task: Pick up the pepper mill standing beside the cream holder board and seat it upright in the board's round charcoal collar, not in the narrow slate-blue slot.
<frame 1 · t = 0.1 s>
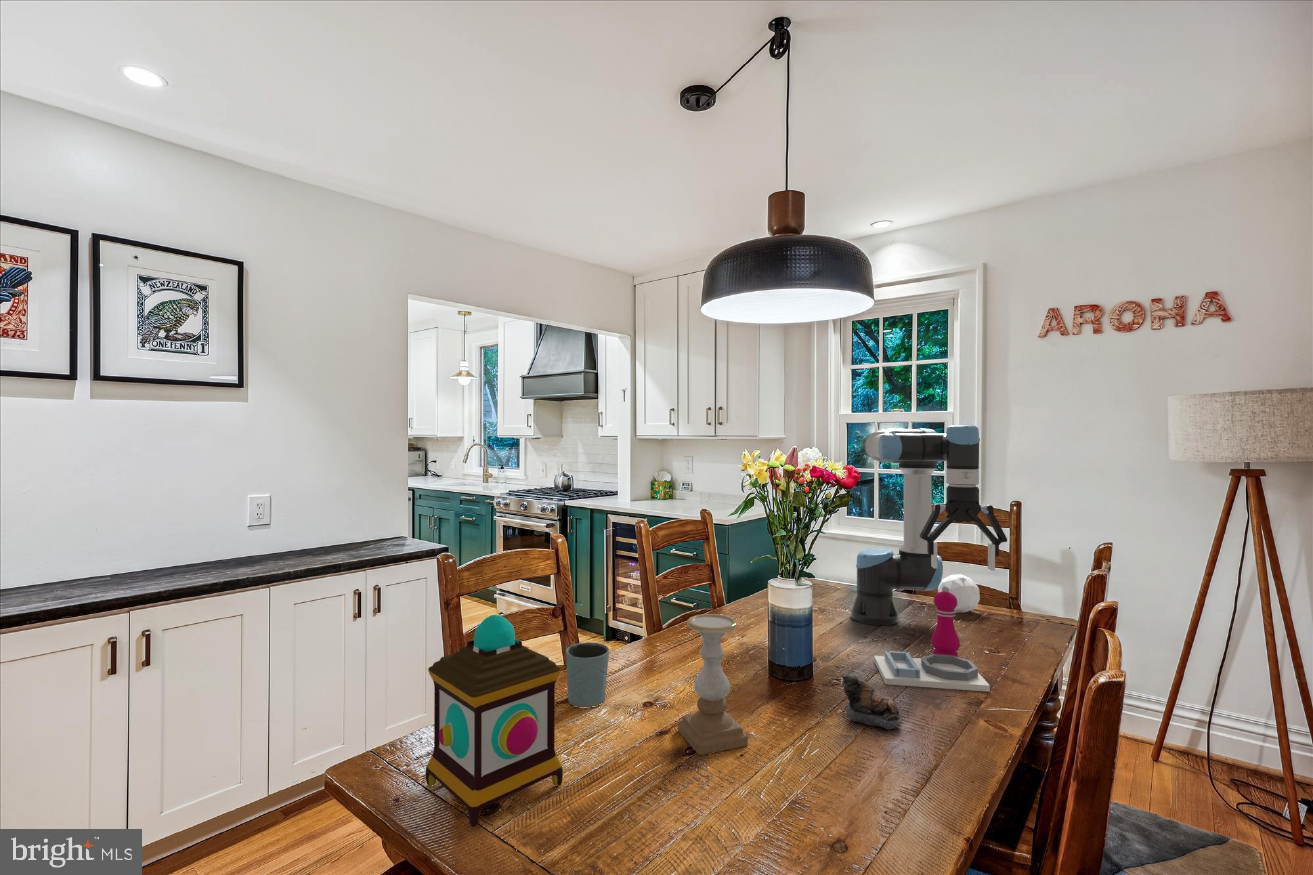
hand: (962, 568, 154), 28 cm above the table, tool pointing down, fingers open, 13 cm apart
geodesic sphere: (958, 612, 213), on the table
blue grey cup: (587, 701, 139), on the table
decorative lantern: (494, 787, 105), on the table
pepper mill: (945, 658, 167), on the table
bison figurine: (871, 726, 128), on the table
candle holder: (711, 739, 122), on the table
holder board: (928, 675, 155), on the table
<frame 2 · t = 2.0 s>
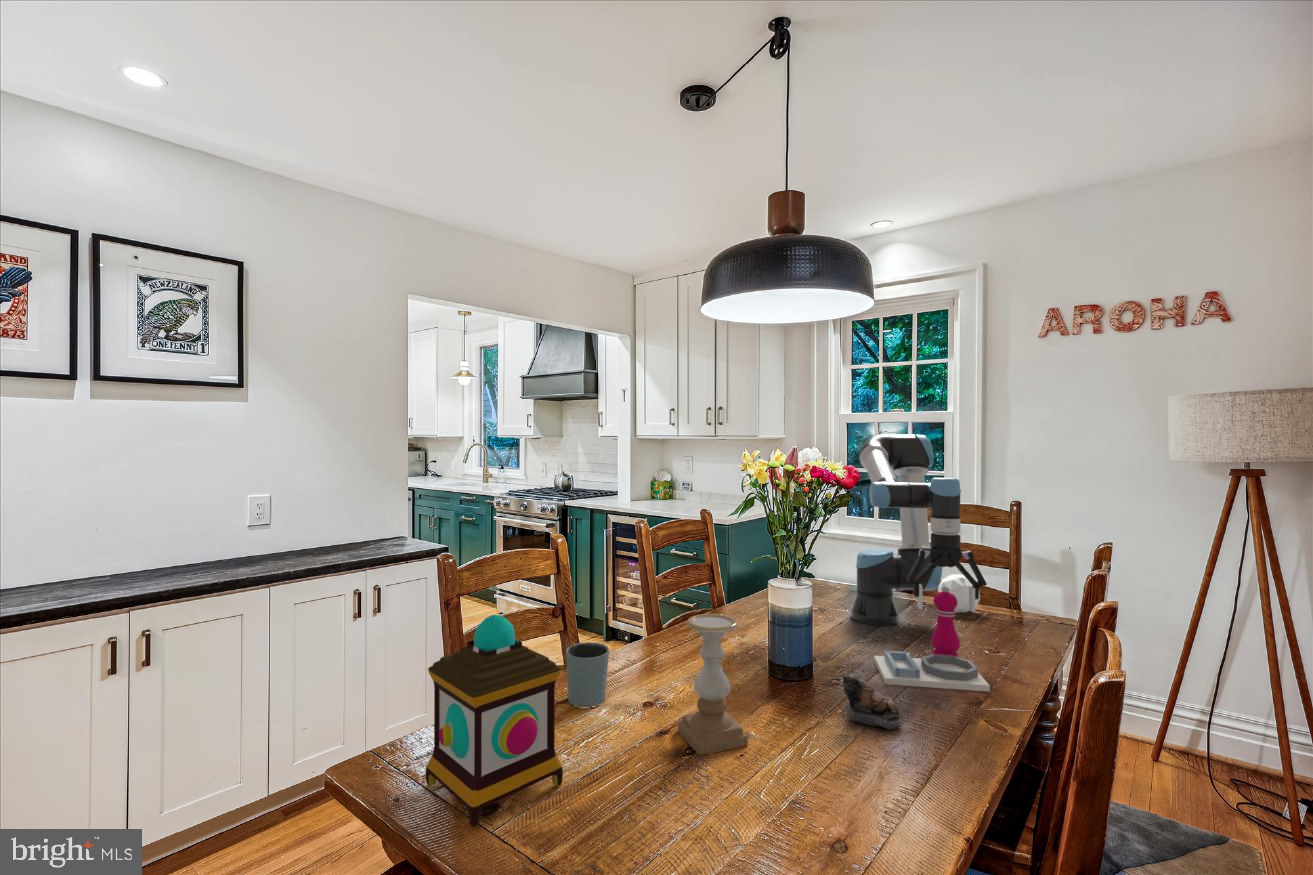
hand: (945, 609, 167), 14 cm above the table, tool pointing down, fingers open, 13 cm apart
nothing on the table moved.
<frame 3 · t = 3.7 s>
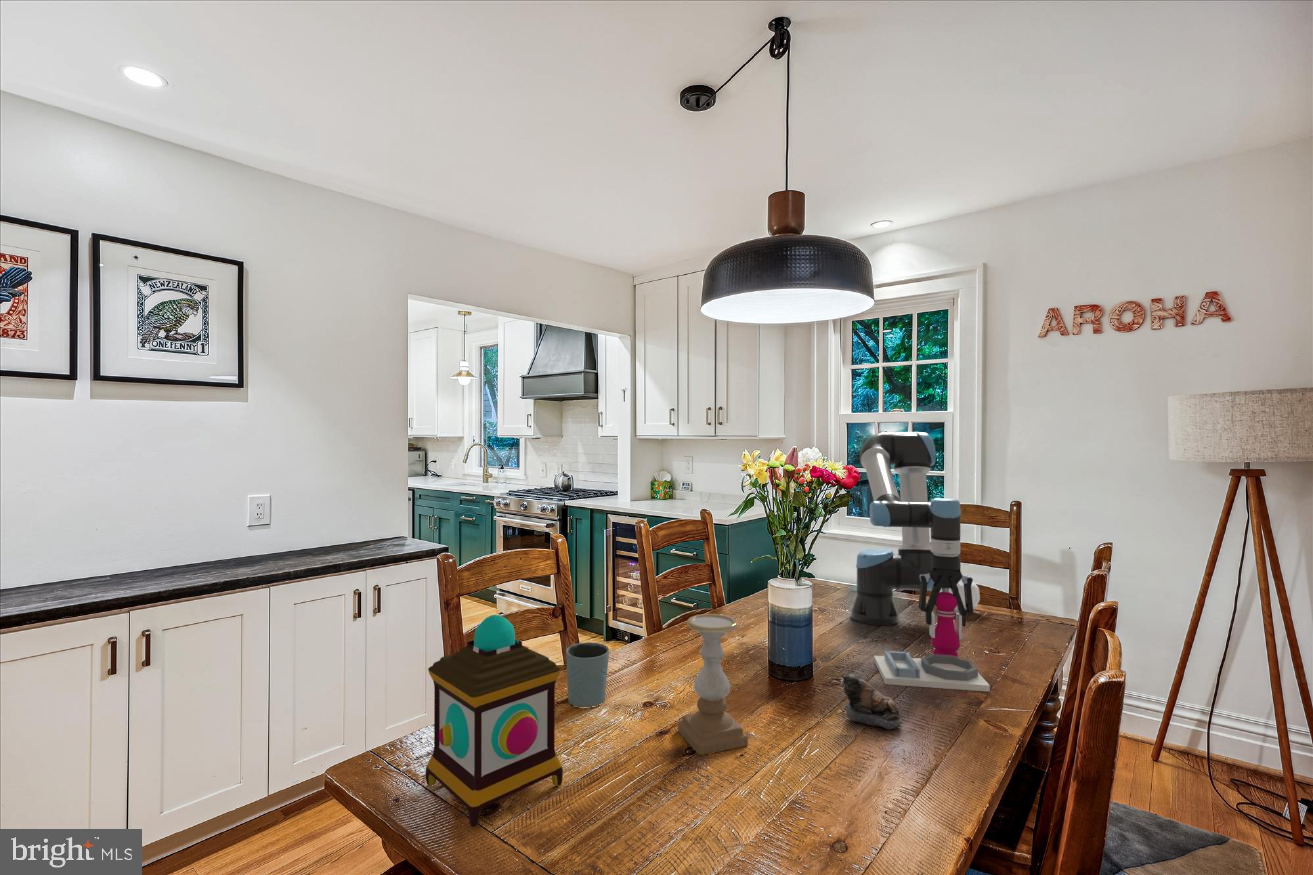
hand: (945, 636, 167), 6 cm above the table, tool pointing down, fingers closed on pepper mill, 6 cm apart
pepper mill: (945, 658, 167), on the table, touching gripper
everything else where it was.
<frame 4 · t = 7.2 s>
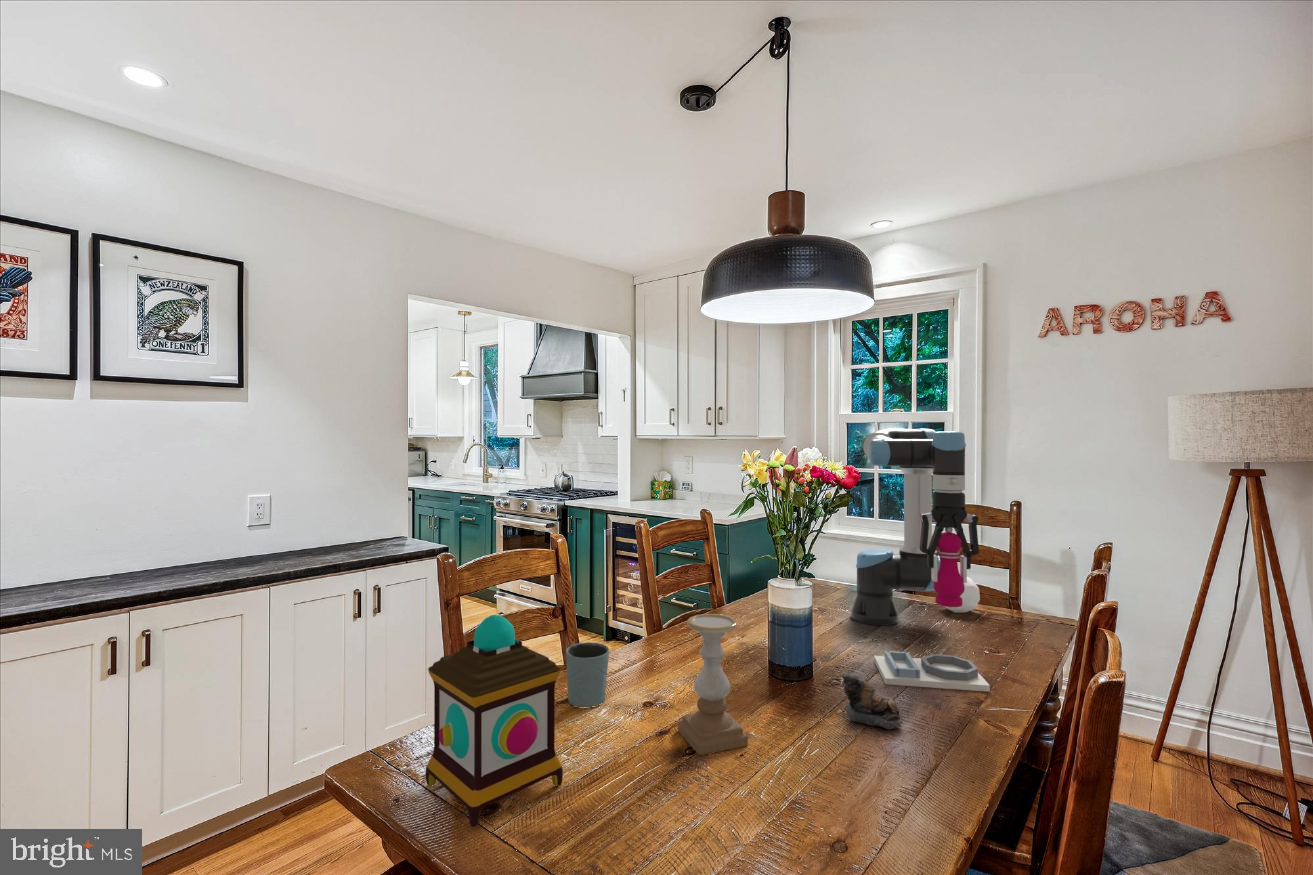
hand: (948, 580, 154), 25 cm above the table, tool pointing down, fingers closed on pepper mill, 6 cm apart
pepper mill: (948, 604, 154), point 18 cm above the table, touching gripper
everything else where it was.
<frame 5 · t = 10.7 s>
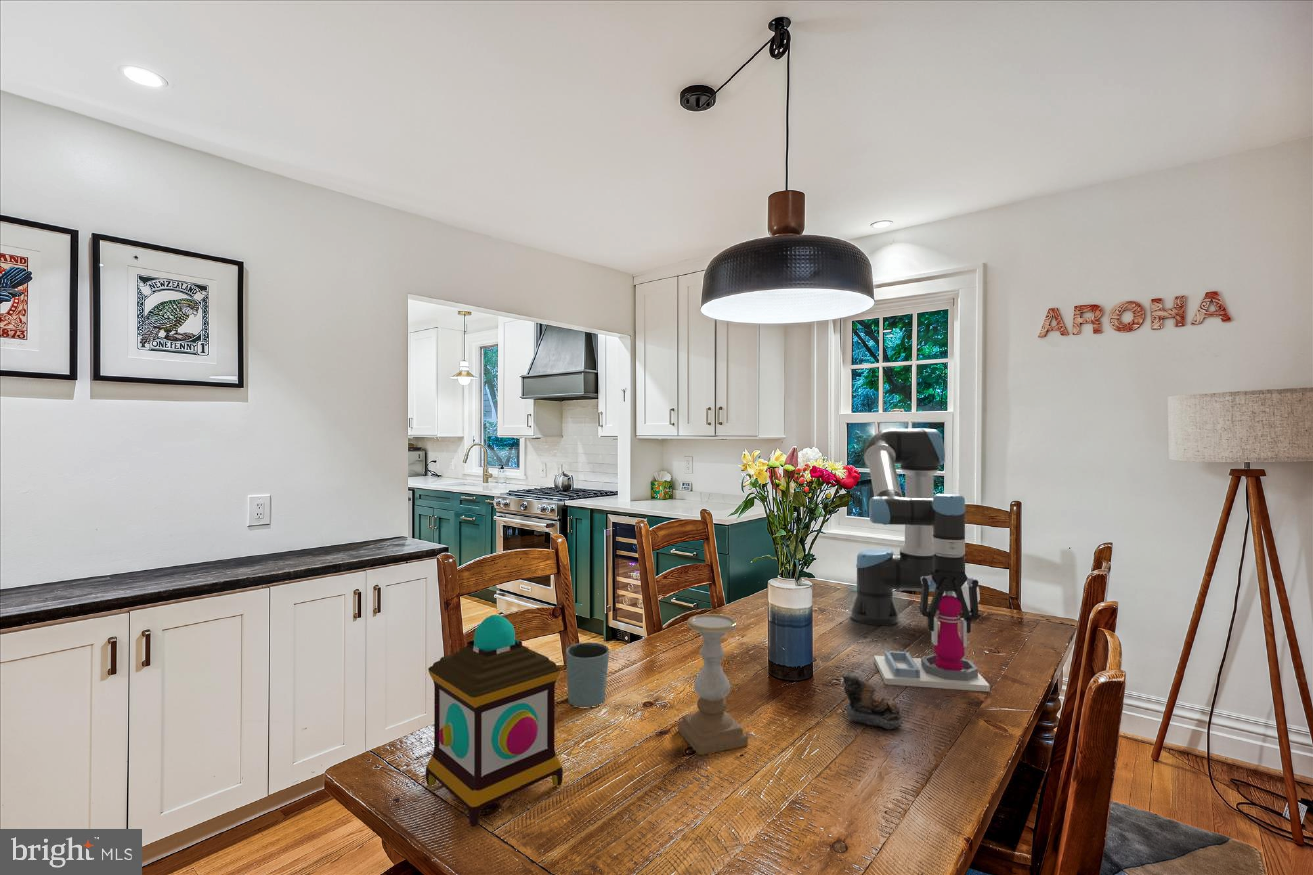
hand: (948, 644, 154), 8 cm above the table, tool pointing down, fingers closed on pepper mill, 6 cm apart
pepper mill: (948, 668, 154), point 2 cm above the table, touching gripper
everything else where it was.
when the fingers open (8 cm above the table, at t = 10.9 s): pepper mill stays where it is, resting on holder board.
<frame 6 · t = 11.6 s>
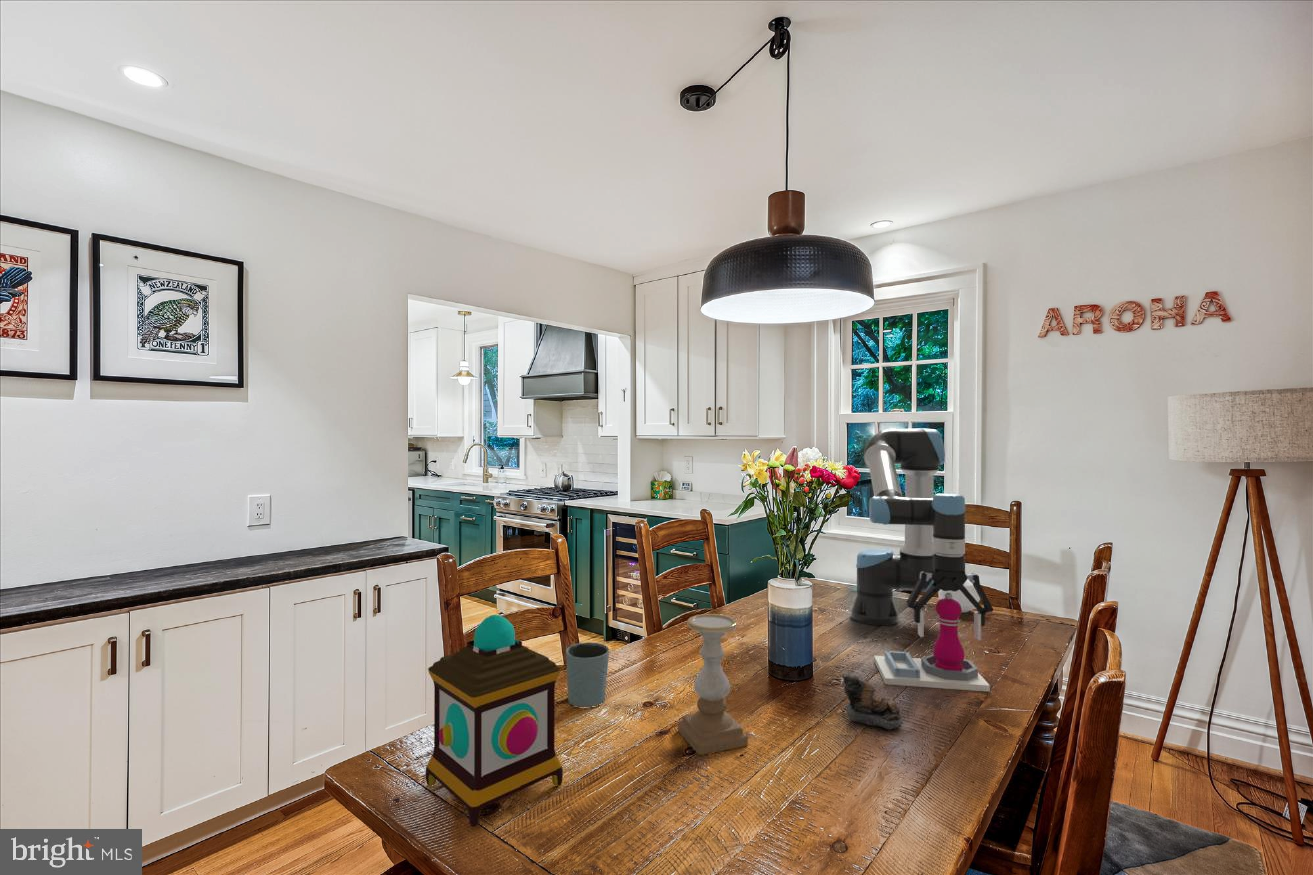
hand: (948, 636, 154), 10 cm above the table, tool pointing down, fingers open, 13 cm apart
pepper mill: (948, 671, 154), point 1 cm above the table, touching holder board
everything else where it was.
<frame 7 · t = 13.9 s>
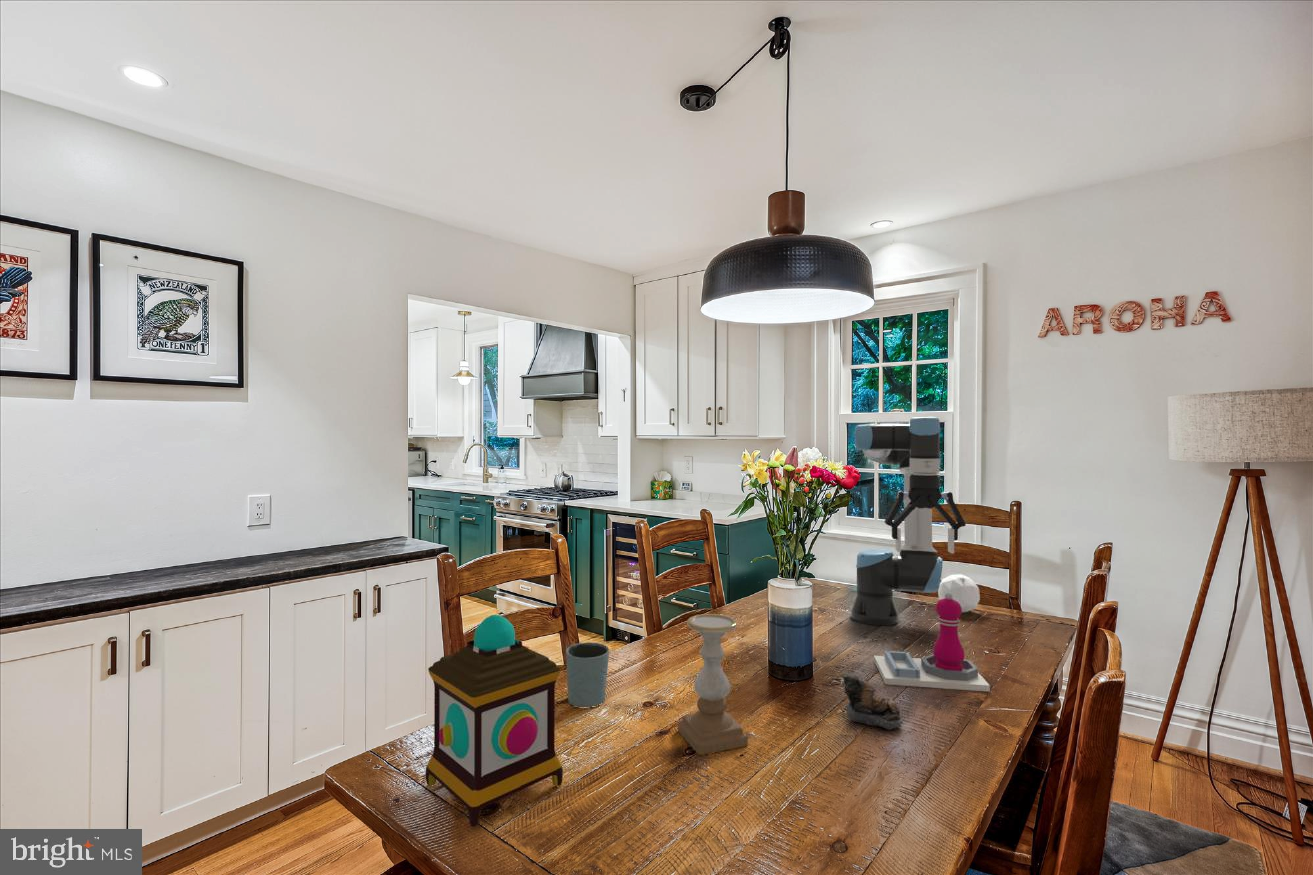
hand: (924, 551, 163), 30 cm above the table, tool pointing down, fingers open, 13 cm apart
nothing on the table moved.
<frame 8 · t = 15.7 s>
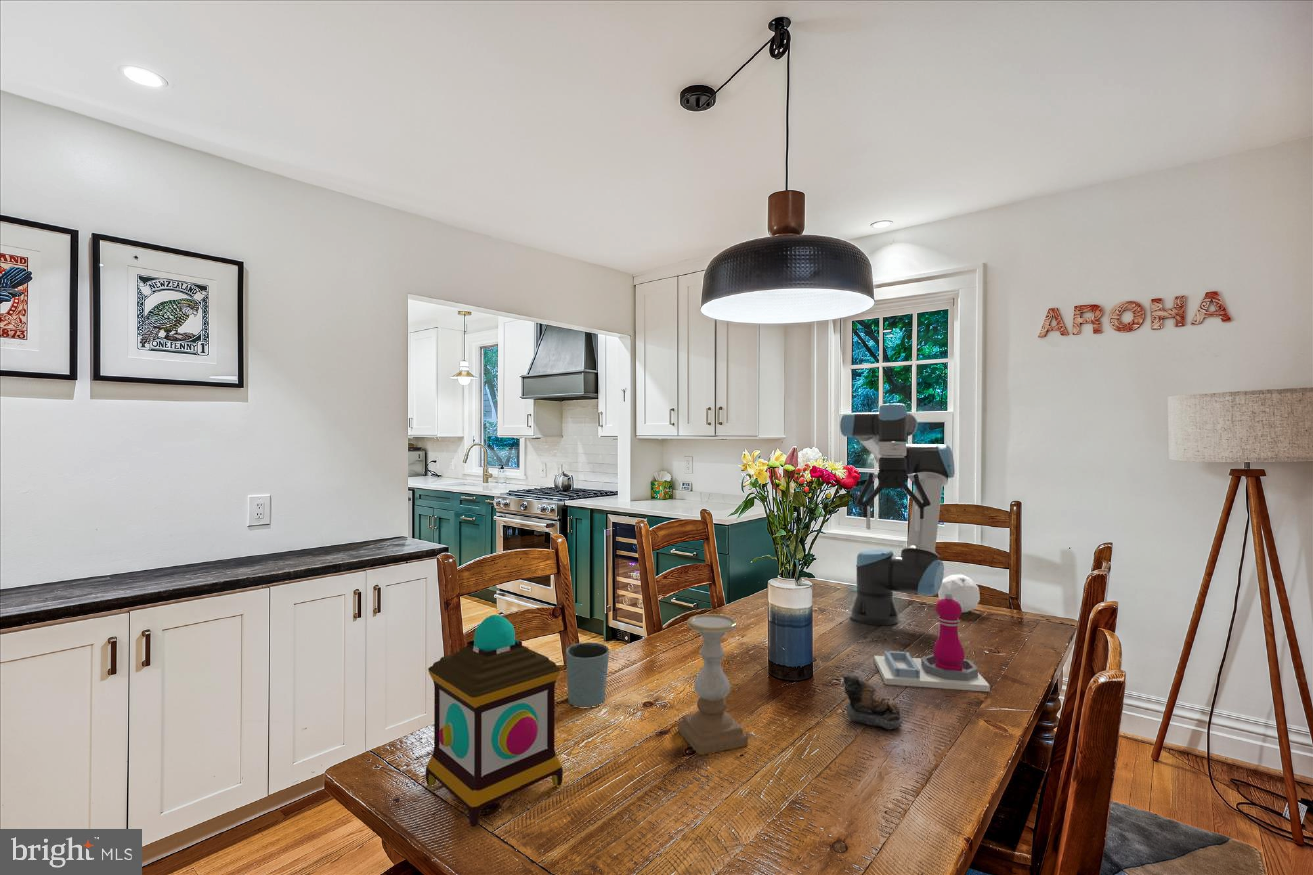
hand: (892, 529, 175), 35 cm above the table, tool pointing down, fingers open, 13 cm apart
nothing on the table moved.
at the end: pepper mill 0.1 cm from the target spot on the holder board, point 1.3 cm above the holder board's base; pepper mill tilted 0°; the gripper is holding nothing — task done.
